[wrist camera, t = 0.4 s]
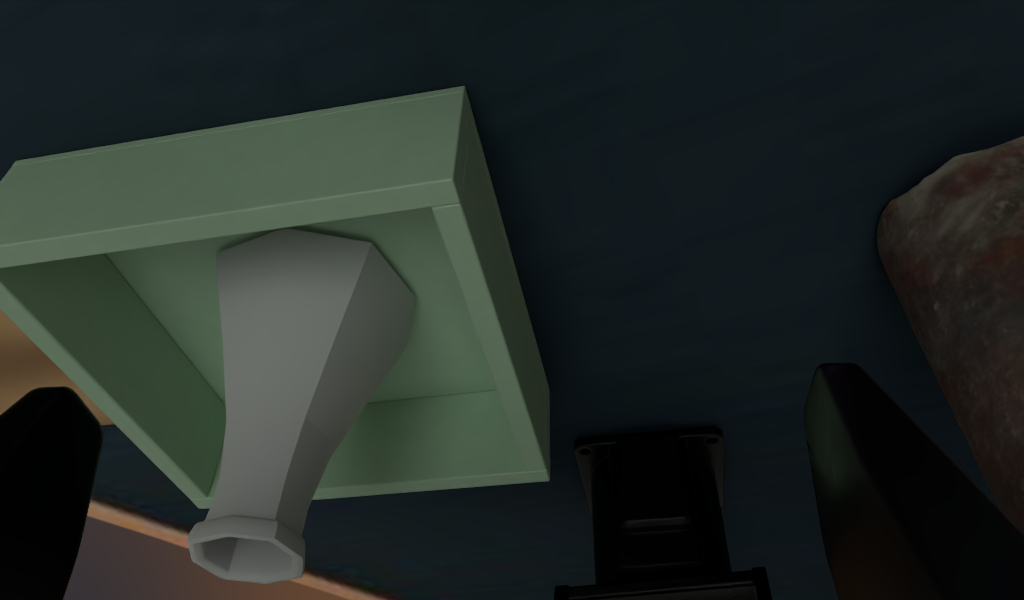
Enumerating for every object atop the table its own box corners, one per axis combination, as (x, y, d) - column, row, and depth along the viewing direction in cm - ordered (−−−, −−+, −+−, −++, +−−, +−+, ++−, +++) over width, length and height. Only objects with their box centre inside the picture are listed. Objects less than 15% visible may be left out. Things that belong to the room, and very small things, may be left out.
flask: (257, 364, 31) (177, 614, 24) (182, 229, 26) (52, 499, 19) (434, 355, 30) (403, 610, 24) (393, 214, 25) (338, 489, 18)
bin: (549, 390, 32) (550, 481, 29) (228, 422, 35) (199, 509, 32) (465, 85, 22) (452, 178, 19) (15, 160, 24) (-57, 254, 22)
